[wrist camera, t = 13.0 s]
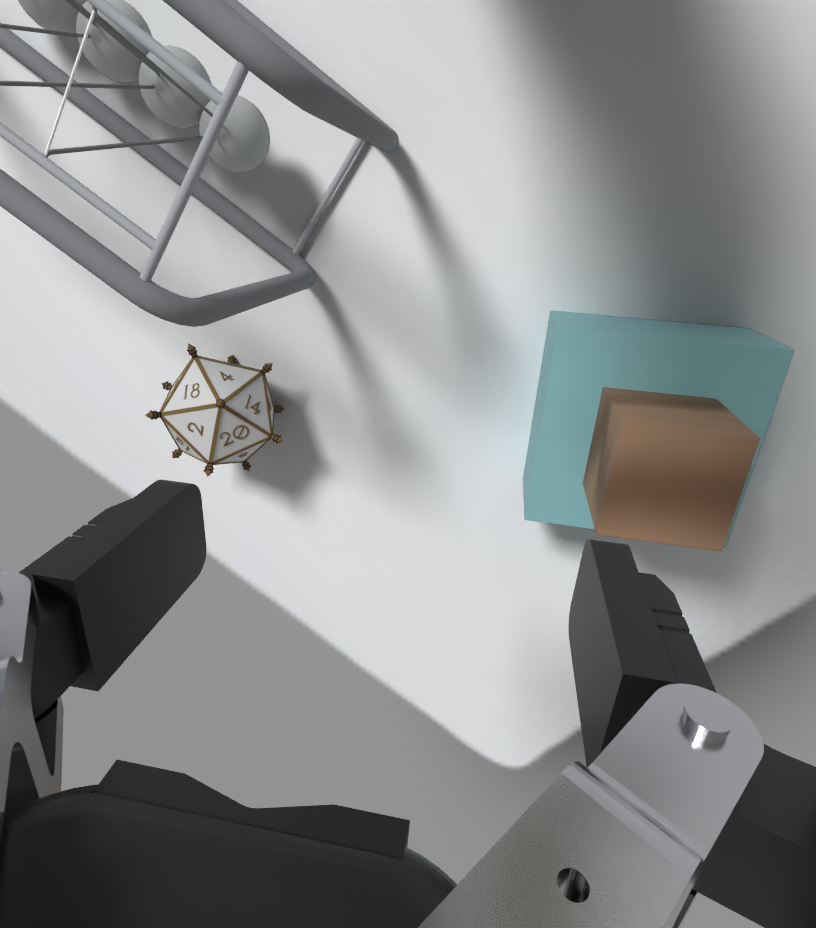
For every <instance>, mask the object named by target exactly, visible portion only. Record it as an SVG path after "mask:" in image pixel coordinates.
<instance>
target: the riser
mask: <svg viewBox="0 0 816 928" xmlns="http://www.w3.org/2000/svg"><path fill="white" fill-rule="evenodd" d="M793 353H794V349H792V348H790V347H788V346H786V345H784V344H782V343H780V342H777V341H775V340H773V339H771V338H769V337H767V336H765V335H763V334H761V333H759V332H757V331H754V330H752V329H750V328H740V327H728V326H717V325H706V324H695V323H683V322H672V321H661V320H649V319H638V318H627V317H616V316H604V315H593V314H582V313H571V312H559V311H550V317H549V323H548V329H547V335H546V341H545V347H544V354H543V360H542V366H541V372H540V378H539V384H538V390H537V396H536V403H535V409H534V415H533V421H532V427H531V433H530V439H529V445H528V451H527V458H526V464H525V470H524V476H523V493H524V516H525V520H529V521H537V522H544V523H552V524H559V525H566V526H574V527H581V528H588V529H595V528H594V525H593V521H592V517H591V513H590V509H589V506H588V502H587V498H586V494H585V491H584V487H583V479H584V474H585V469H586V465H587V460H588V455H589V450H590V446H591V441H592V436H593V432H594V427H595V422H596V417H597V413H598V408H599V403H600V398H601V394H602V389H603V387H608V388H618V389H628V390H637V391H647V392H657V393H667V394H676V395H686V396H696V397H706V398H715V399H717V400H719V401H720V402H721V403H722V404H723V405H724V406H725V407H726V408H727V409H729V410H730V411H731V412H732V413H733V414H734V415H735V416H736V417H737V418H739V419H740V420H741V421H742V422H743V423H744V424H745V425H746V426H747V427H749V428H750V429H751V430H752V431H753V432H754V433H755V434H756V435H758V436H759V437H760V441H759V444H758V447H757V450H756V453H755V455H754V458H753V461H752V464H751V467H750V470H749V473H748V476H747V479H746V482H745V485H744V487H743V490H742V493H741V496H740V499H739V502H738V505H737V508H736V511H735V514H734V516H733V519H732V522H731V525H730V528H729V531H728V534H727V537H726V540H725V543H724V545H723V547H726V545H727V542H728V539H729V536H730V533H731V531H732V528H733V525H734V522H735V519H736V516H737V513H738V510H739V508H740V505H741V502H742V499H743V496H744V493H745V490H746V488H747V485H748V482H749V479H750V476H751V473H752V470H753V467H754V465H755V462H756V459H757V456H758V453H759V450H760V447H761V445H762V442H763V439H764V436H765V433H766V430H767V427H768V425H769V422H770V419H771V416H772V413H773V410H774V407H775V404H776V402H777V399H778V396H779V393H780V390H781V387H782V384H783V382H784V379H785V376H786V373H787V370H788V367H789V364H790V362H791V359H792V356H793Z"/></svg>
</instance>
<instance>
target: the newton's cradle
mask: <svg viewBox="0 0 816 928" xmlns="http://www.w3.org/2000/svg"><path fill="white" fill-rule="evenodd" d="M18 1H19V3H20V4H21V6H22V7H23V9H24V10H25V12H26V13H27V14H28V15H29V16H30V17H31V18H32V19H33V20H34V21H35V22H36V23H37V24H38V25H40V26H41V27H43V28H45V29H39V28H31V27H23V26H16V25H8V24H1V23H0V46H1V47H2V48H3V49H5V50H6V51H7V52H9V53H10V54H11V55H12V56H14V57H15V58H16V59H18V60H19V61H20V62H21V63H23V64H24V65H25V66H27V67H28V68H29V69H31V70H32V71H33V72H34V73H36V74H37V75H38V76H40V77H41V78H42V79H44V80H45V81H46V82H24V81H0V86H40V87H54V88H55V89H56V90H58V91H59V92H60V93H62V94H63V95H64V97H63V100H62V103H61V106H60V109H59V112H58V115H57V118H56V121H55V124H54V127H53V130H52V133H51V135H50V138H49V141H48V144H47V147H46V150H45V152H44V154H42V153H40V152H39V151H38V150H36V149H35V148H34V147H32V146H31V145H30V144H28V143H27V142H26V141H24V140H23V139H22V138H20V137H19V136H18V135H16V134H15V133H14V132H12V131H11V130H10V129H8V128H7V127H6V126H4V125H3V124H2V123H0V136H1V137H2V138H4V139H5V140H6V141H8V142H9V143H10V144H12V145H13V146H14V147H16V148H17V149H18V150H20V151H21V152H22V153H24V154H25V155H26V156H28V157H29V158H30V159H32V160H33V161H34V162H36V163H37V164H38V165H40V166H41V167H42V168H44V169H45V170H46V171H48V172H49V173H50V174H52V175H53V176H54V177H56V178H57V179H58V180H60V181H61V182H62V183H64V184H65V185H66V186H68V187H69V188H70V189H72V190H73V191H74V192H76V193H77V194H78V195H80V196H81V197H82V198H84V199H85V200H86V201H88V202H89V203H90V204H92V205H93V206H94V207H96V208H97V209H98V210H100V211H101V212H102V213H104V214H105V215H106V216H108V217H109V218H110V219H112V220H113V221H114V222H116V223H117V224H118V225H120V226H121V227H122V228H124V229H125V230H126V231H128V232H129V233H130V234H132V235H133V236H134V237H136V238H137V239H138V240H140V241H141V242H142V243H144V244H145V245H146V246H148V247H149V248H150V249H152V250H151V253H150V255H149V257H148V259H147V261H146V264H145V266H144V268H143V270H142V272H141V273H140V272H138V271H137V270H136V269H134V268H133V267H132V266H130V265H129V264H128V263H126V262H125V261H124V260H122V259H121V258H120V257H118V256H117V255H116V254H114V253H113V252H112V251H110V250H109V249H107V248H106V247H105V246H103V245H102V244H101V243H99V242H98V241H97V240H95V239H94V238H93V237H91V236H90V235H89V234H87V233H86V232H85V231H83V230H82V229H81V228H79V227H78V226H77V225H75V224H74V223H72V222H71V221H70V220H68V219H67V218H66V217H64V216H63V215H62V214H60V213H59V212H58V211H56V210H55V209H54V208H52V207H51V206H50V205H48V204H47V203H46V202H44V201H43V200H41V199H40V198H39V197H37V196H36V195H35V194H33V193H32V192H31V191H29V190H28V189H27V188H25V187H24V186H23V185H21V184H20V183H19V182H17V181H16V180H15V179H13V178H12V177H10V176H9V175H8V174H6V173H5V172H4V171H2V170H1V169H0V206H1V207H2V208H4V209H5V210H7V211H8V212H9V213H11V214H12V215H13V216H15V217H16V218H17V219H19V220H20V221H22V222H23V223H24V224H26V225H27V226H28V227H30V228H31V229H32V230H34V231H35V232H37V233H38V234H39V235H41V236H42V237H43V238H45V239H46V240H47V241H49V242H50V243H52V244H53V245H54V246H56V247H57V248H58V249H60V250H61V251H62V252H64V253H65V254H67V255H68V256H69V257H71V258H72V259H73V260H75V261H76V262H77V263H79V264H80V265H82V266H83V267H84V268H86V269H87V270H88V271H90V272H91V273H92V274H94V275H95V276H97V277H98V278H99V279H101V280H102V281H103V282H105V283H106V284H107V285H109V286H110V287H112V288H113V289H114V290H116V291H117V292H118V293H120V294H121V295H122V296H124V297H125V298H127V299H128V300H129V301H131V302H132V303H134V304H135V305H137V306H138V307H140V308H142V309H143V310H145V311H146V312H148V313H150V314H153V315H155V316H157V317H159V318H161V319H163V320H167V321H170V322H173V323H176V324H179V325H186V326H193V327H195V326H203V325H207V324H210V323H213V322H216V321H219V320H221V319H224V318H227V317H230V316H232V315H235V314H238V313H241V312H243V311H246V310H249V309H252V308H254V307H257V306H260V305H263V304H266V303H268V302H271V301H274V300H277V299H279V298H282V297H285V296H288V295H290V294H293V293H296V292H299V291H301V290H304V289H307V288H309V287H310V286H311V285H312V284H313V283H314V281H315V276H314V272H313V270H312V268H311V267H310V265H309V264H308V263H307V262H306V261H305V260H304V259H303V258H302V257H301V256H300V255H298V253H299V251H300V249H301V248H302V246H303V244H304V243H305V241H306V239H307V238H308V236H309V234H310V232H311V231H312V229H313V227H314V226H315V224H316V222H317V220H318V219H319V217H320V215H321V214H322V212H323V210H324V208H325V207H326V205H327V203H328V202H329V200H330V198H331V196H332V195H333V193H334V191H335V190H336V188H337V186H338V184H339V183H340V181H341V179H342V178H343V176H344V174H345V173H346V171H347V169H348V167H349V166H350V164H351V162H352V161H353V159H354V157H355V155H356V154H357V152H358V150H359V149H360V147H361V145H362V143H363V142H364V141H365V142H367V143H369V144H371V145H373V146H375V147H377V148H379V149H381V150H383V151H386V152H391V151H393V150H395V149H396V147H397V146H398V142H399V139H398V135H397V134H396V132H395V131H394V130H393V129H391V128H390V127H389V126H388V125H387V124H385V123H384V122H383V121H382V120H381V119H380V118H378V117H377V116H376V115H375V114H374V113H372V112H371V111H370V110H369V109H367V108H366V107H365V106H364V105H363V104H361V103H360V102H359V101H358V100H357V99H355V98H354V97H353V96H352V95H351V94H349V93H348V92H347V91H346V90H345V89H343V88H342V87H341V86H340V85H338V84H337V83H336V82H335V81H334V80H332V79H331V78H330V77H329V76H328V75H326V74H325V73H324V72H323V71H322V70H320V69H319V68H318V67H317V66H316V65H314V64H313V63H312V62H311V61H309V60H308V59H307V58H306V57H305V56H303V55H302V54H301V53H300V52H299V51H297V50H296V49H295V48H294V47H293V46H291V45H290V44H289V43H288V42H287V41H285V40H284V39H283V38H282V37H280V36H279V35H278V34H277V33H276V32H274V31H273V30H272V29H271V28H270V27H268V26H267V25H266V24H265V23H264V22H262V21H261V20H260V19H259V18H258V17H256V16H255V15H254V14H253V13H252V12H250V11H249V10H248V9H247V8H245V7H244V6H243V5H242V4H241V3H239V2H238V1H237V0H163V1H164V2H165V3H167V4H168V5H169V6H170V7H172V8H173V9H174V10H175V11H177V12H178V13H179V14H180V15H181V16H183V17H184V18H185V19H186V20H188V21H189V22H190V23H191V24H193V25H194V26H195V27H196V28H197V29H199V30H200V31H201V32H202V33H204V34H205V35H206V36H207V37H209V38H210V39H211V40H212V41H213V42H215V43H216V44H217V45H218V46H220V47H221V48H222V49H223V50H225V51H226V52H227V53H228V54H229V55H231V56H232V57H233V58H234V59H236V60H237V61H238V62H237V64H236V66H235V68H234V71H233V73H232V75H231V77H230V79H229V82H228V84H227V86H226V88H225V90H224V92H223V94H222V93H221V92H220V91H219V90H217V89H216V88H215V87H214V86H212V84H211V81H210V78H209V76H208V74H207V72H206V70H205V68H204V67H203V65H202V64H201V63H200V61H199V60H198V59H197V58H196V57H194V56H193V55H192V54H191V53H189V52H187V51H186V50H184V49H181V48H179V47H175V46H169V45H168V46H162V45H161V44H160V43H159V42H158V41H156V40H155V39H154V38H153V37H152V35H151V32H150V29H149V27H148V25H147V23H146V22H145V20H144V19H143V18H142V16H141V15H140V13H139V12H138V11H137V10H136V9H135V8H134V7H132V6H131V5H130V4H128V3H127V2H125V1H124V0H18ZM9 29H14V30H22V31H30V32H39V33H47V34H55V35H64V36H72V37H77V39H78V43H79V45H80V49H79V52H78V55H77V58H76V61H75V64H74V67H73V70H72V73H71V76H68V75H67V74H66V73H64V72H63V71H62V70H61V69H59V68H58V67H57V66H55V65H54V64H53V63H52V62H50V61H49V60H48V59H46V58H45V57H44V56H42V55H41V54H40V53H39V52H37V51H36V50H35V49H33V48H32V47H31V46H30V45H28V44H27V43H26V42H24V41H23V40H22V39H21V38H19V37H18V36H17V35H15V34H14V33H13V32H12V31H10V30H9ZM82 52H83V53H84V55H85V57H86V59H87V60H88V61H89V62H90V64H91V65H92V66H93V67H94V68H95V69H96V70H97V71H99V72H100V73H101V74H103V75H104V76H106V77H108V78H110V79H112V80H115V81H119V82H133V81H136V80H139V85H120V84H88V83H77V82H76V81H75V80H73V78H74V75H75V72H76V69H77V66H78V63H79V60H80V57H81V54H82ZM248 71H251V72H252V73H253V74H254V75H256V76H257V77H258V78H259V79H261V80H262V81H263V82H265V83H266V84H267V85H269V86H270V87H271V88H273V89H274V90H275V91H277V92H278V93H279V94H281V95H282V96H284V97H285V98H286V99H288V100H289V101H291V102H292V103H294V104H295V105H297V106H298V107H300V108H301V109H303V110H304V111H306V112H308V113H310V114H312V115H314V116H316V117H318V118H320V119H322V120H324V121H326V122H328V123H330V124H332V125H334V126H336V127H338V128H339V129H342V130H344V131H345V132H347V133H349V134H351V135H353V136H355V137H357V140H356V142H355V143H354V145H353V147H352V148H351V150H350V152H349V154H348V155H347V157H346V159H345V161H344V162H343V164H342V166H341V167H340V169H339V171H338V173H337V174H336V176H335V178H334V180H333V181H332V183H331V185H330V186H329V188H328V190H327V192H326V193H325V195H324V197H323V199H322V200H321V202H320V204H319V206H318V207H317V209H316V211H315V212H314V214H313V216H312V218H311V219H310V221H309V223H308V225H307V226H306V228H305V230H304V231H303V233H302V235H301V237H300V238H299V240H298V242H297V244H296V245H295V247H294V249H293V250H292V249H291V248H290V247H288V246H287V245H286V244H285V243H283V242H282V241H281V240H279V239H278V238H277V237H276V236H274V235H273V234H272V233H270V232H269V231H268V230H267V229H265V228H264V227H263V226H261V225H260V224H259V223H258V222H256V221H255V220H254V219H252V218H251V217H250V216H249V215H247V214H246V213H245V212H243V211H242V210H241V209H239V208H238V207H237V206H236V205H234V204H233V203H232V202H230V201H229V200H228V199H227V198H225V197H224V196H223V195H221V194H220V193H219V192H218V191H216V190H215V189H214V188H212V187H211V186H210V185H209V184H207V183H206V182H205V181H203V180H202V179H201V178H200V177H199V176H200V174H201V172H202V169H203V167H204V165H205V163H206V161H207V159H208V157H210V158H211V159H212V160H213V161H214V162H215V163H216V164H217V165H218V166H220V167H222V168H223V169H226V170H228V171H231V172H236V173H241V172H248V171H251V170H253V169H255V168H256V167H258V166H259V165H260V164H261V163H262V162H263V160H264V159H265V157H266V155H267V153H268V150H269V145H270V134H269V129H268V125H267V123H266V121H265V118H264V116H263V115H262V113H261V112H260V110H259V109H258V108H257V107H256V106H255V105H254V104H253V103H251V102H250V101H249V100H247V99H245V98H243V97H241V96H237V95H238V92H239V90H240V88H241V86H242V84H243V82H244V80H245V78H246V75H247V73H248ZM85 88H125V89H140V91H141V94H142V97H143V99H144V101H145V103H146V105H147V107H148V108H149V109H150V110H151V112H152V113H153V114H154V115H155V116H156V117H157V118H159V119H160V120H161V121H163V122H164V123H166V124H168V125H171V126H173V127H178V128H190V127H193V126H196V125H198V124H199V133H200V136H195V137H184V138H173V139H162V140H151V139H149V138H148V137H147V136H145V135H144V134H143V133H142V132H140V131H139V130H138V129H136V128H135V127H134V126H133V125H131V124H130V123H129V122H127V121H126V120H125V119H124V118H122V117H121V116H120V115H118V114H117V113H116V112H115V111H113V110H112V109H111V108H109V107H108V106H107V105H106V104H104V103H103V102H102V101H100V100H99V99H98V98H97V97H95V96H94V95H93V94H91V93H90V92H89V91H88V90H86V89H85ZM67 98H68V99H69V100H71V101H72V102H73V103H75V104H76V105H77V106H79V107H80V108H81V109H82V110H84V111H85V112H86V113H88V114H89V115H90V116H92V117H93V118H94V119H95V120H97V121H98V122H99V123H101V124H102V125H103V126H104V127H106V128H107V129H108V130H110V131H111V132H112V133H114V134H115V135H116V136H117V137H119V138H120V139H121V140H123V141H124V142H125V143H118V144H107V145H96V146H85V147H74V148H63V149H52V150H49V149H50V146H51V143H52V140H53V137H54V134H55V131H56V128H57V125H58V122H59V119H60V116H61V113H62V110H63V107H64V104H65V102H66V99H67ZM192 140H201V143H200V145H199V147H198V149H197V152H196V154H195V156H194V158H193V160H192V163H191V165H190V167H189V169H188V168H187V167H185V166H184V165H183V164H182V163H180V162H179V161H178V160H176V159H175V158H174V157H173V156H171V155H170V154H169V153H167V152H166V151H165V150H164V149H162V148H161V147H160V146H158V145H157V144H162V143H172V142H182V141H192ZM122 147H132V148H133V149H134V150H136V151H137V152H138V153H139V154H141V155H142V156H143V157H145V158H146V159H147V160H149V161H150V162H151V163H152V164H154V165H155V166H156V167H158V168H159V169H160V170H162V171H163V172H164V173H165V174H167V175H168V176H169V177H171V178H172V179H173V180H174V181H176V182H177V183H178V184H180V185H181V187H180V189H179V191H178V193H177V196H176V198H175V200H174V202H173V204H172V207H171V209H170V211H169V213H168V215H167V217H166V220H165V222H164V224H163V226H162V228H161V231H160V233H159V235H158V237H157V239H154V238H153V237H152V236H150V235H149V234H148V233H146V232H145V231H144V230H142V229H141V228H140V227H139V226H137V225H136V224H135V223H133V222H132V221H131V220H129V219H128V218H127V217H125V216H124V215H123V214H121V213H120V212H119V211H117V210H116V209H115V208H113V207H112V206H111V205H109V204H108V203H107V202H105V201H104V200H103V199H101V198H100V197H99V196H97V195H96V194H95V193H93V192H92V191H91V190H89V189H88V188H87V187H85V186H84V185H83V184H81V183H80V182H79V181H77V180H76V179H75V178H73V177H72V176H71V175H69V174H68V173H67V172H65V171H64V170H63V169H62V168H60V167H59V166H58V165H56V164H55V163H54V162H52V161H51V160H50V159H48V158H47V157H48V156H49V155H52V154H62V153H72V152H82V151H92V150H102V149H112V148H122ZM191 194H193V195H194V196H195V197H197V198H198V199H199V200H200V201H202V202H203V203H204V204H206V205H207V206H208V207H210V208H211V209H212V210H213V211H215V212H216V213H217V214H219V215H220V216H221V217H222V218H224V219H225V220H226V221H228V222H229V223H230V224H232V225H233V226H234V227H235V228H237V229H238V230H239V231H241V232H242V233H243V234H245V235H246V236H247V237H248V238H250V239H251V240H252V241H254V242H255V243H256V244H257V245H259V246H260V247H261V248H263V249H264V250H265V251H267V252H268V253H269V254H270V255H272V256H273V257H274V258H276V259H277V260H278V261H280V262H281V263H282V264H283V265H285V266H286V267H287V268H288V269H290V270H291V271H292V272H293V273H290V274H286V275H282V276H279V277H275V278H271V279H267V280H264V281H260V282H256V283H252V284H249V285H245V286H241V287H237V288H233V289H230V290H226V291H222V292H218V293H215V294H211V295H207V296H203V297H200V298H188V297H183V296H180V295H178V294H175V293H172V292H170V291H168V290H166V289H164V288H162V287H160V286H159V285H157V284H156V283H154V282H152V281H151V279H152V276H153V274H154V272H155V270H156V268H157V266H158V264H159V261H160V259H161V257H162V255H163V253H164V251H165V249H166V246H167V244H168V242H169V240H170V238H171V236H172V234H173V232H174V229H175V227H176V225H177V223H178V221H179V219H180V217H181V214H182V212H183V210H184V208H185V206H186V204H187V202H188V199H189V197H190V195H191Z"/></svg>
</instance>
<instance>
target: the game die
mask: <svg viewBox="0 0 816 928" xmlns="http://www.w3.org/2000/svg"><path fill="white" fill-rule="evenodd" d="M195 348H196V347H193V346H192V345H190V344H188V350H187V351H188V352H189V355H191V356H192V359H191V360H190V362H189V363H188V364H187V366H186V367H185V369H184V370H183V371H182V373H181V374H180V376H179V377H178V378H177V380H176V381H175V383H174V384H173V386H172V385H171V383H168V381H167V382H165V383H162V385H163V389H166V390H170V391H169V393H168V395H167V397H166V399H165V402H164V404H163V406H162V408H161V410H160V412H157V411H150V412H149V413H148V414H146V416H147V417H149V418H151V420H153V419H157V418H159V417H160V418H161V419H162V421H163V422H164V424H165V426H166V428H167V429H168V431H169V433H170V434H171V436H172V438H173V439H174V441H175V443H176V444H177V446H178V449H177V450H175V451H174V452H172V453H173V456H172V458H179V456H181V454H182V452H184V453H186V454H188V455H190V456H192V457H194V458H196V459H198V460H200V461H203V462H205V463H207V466H206V467H205V470H204V472H205V473H206V475H207V477H208V476H209V475H210V474H211V473H213V470H214V468H213V465H217V464H228V463H239V462H242V463H243V465H242V466H243V467H244V469H245V470H247V471H249V470H250V467H251V465H250V463H249V462H247V459H249V458H250V457H251V456H252V455H253V454H254V453H255V452H256V451H257V450H259V449H260V448H261V447H262V446H263V445H264V444H265V443H266V442H267V441H269V440H270V439H272V440H273V442H276V443H279V442H283V440H282V438H281V436H278V435H274V434H273V427H274V412H277V413H278V412H279V413H281V411H282V410H283V408H282V407H281V406H280V405H279V406H277V405H276V406H275V407H274V406H273V402H272V398H271V395H270V391H269V387H268V384H267V380H266V376H265V373H267V372H269V371H270V370H272V369H271V368H272V363H269V364H265V366H263V369H262V370H258V369H254V368H250V367H245V366H241V365H236V364H234V363H235V360H236V359H235V358H234V356H233V355H232V356H230V357H228V362H223V361H219V360H214V359H210V358H206V357H201V356H198V355H197V350H196V349H195Z"/></svg>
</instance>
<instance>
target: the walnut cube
mask: <svg viewBox="0 0 816 928" xmlns="http://www.w3.org/2000/svg"><path fill="white" fill-rule="evenodd" d="M759 441H760V437H759V436H758V435H756V434H755V433H754V432H753V431H752V430H751V429H750V428H749V427H747V426H746V425H745V424H744V423H743V422H742V421H741V420H740V419H739V418H737V417H736V416H735V415H734V414H733V413H732V412H731V411H730V410H729V409H727V408H726V407H725V406H724V405H723V404H722V403H721V402H720V401H719V400H717V399H715V398H706V397H696V396H686V395H676V394H667V393H657V392H647V391H637V390H628V389H618V388H608V387H603V389H602V394H601V398H600V403H599V408H598V413H597V417H596V422H595V427H594V432H593V436H592V441H591V446H590V450H589V455H588V460H587V465H586V469H585V474H584V479H583V487H584V491H585V494H586V498H587V502H588V506H589V509H590V513H591V517H592V521H593V525H594V528H595V532H596V535H604V536H611V537H619V538H626V539H633V540H641V541H648V542H656V543H663V544H670V545H678V546H685V547H693V548H700V549H708V550H715V551H722V548H723V545H724V543H725V540H726V537H727V534H728V531H729V528H730V525H731V522H732V519H733V516H734V514H735V511H736V508H737V505H738V502H739V499H740V496H741V493H742V490H743V487H744V485H745V482H746V479H747V476H748V473H749V470H750V467H751V464H752V461H753V458H754V455H755V453H756V450H757V447H758V444H759Z"/></svg>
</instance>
